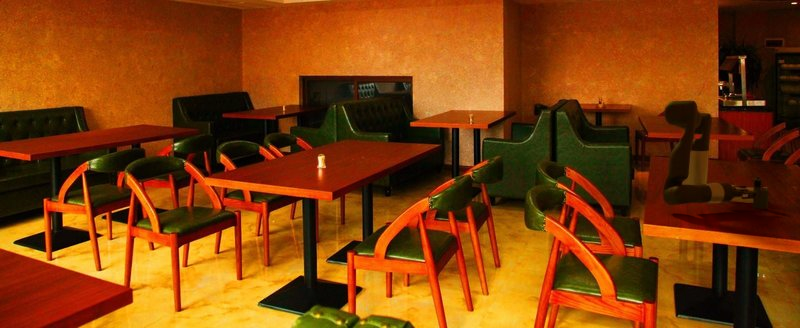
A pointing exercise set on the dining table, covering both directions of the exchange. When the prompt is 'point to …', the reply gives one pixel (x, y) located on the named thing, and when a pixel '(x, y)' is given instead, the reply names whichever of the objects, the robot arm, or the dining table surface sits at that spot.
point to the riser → (743, 199)
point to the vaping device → (760, 201)
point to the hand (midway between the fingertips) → (754, 190)
